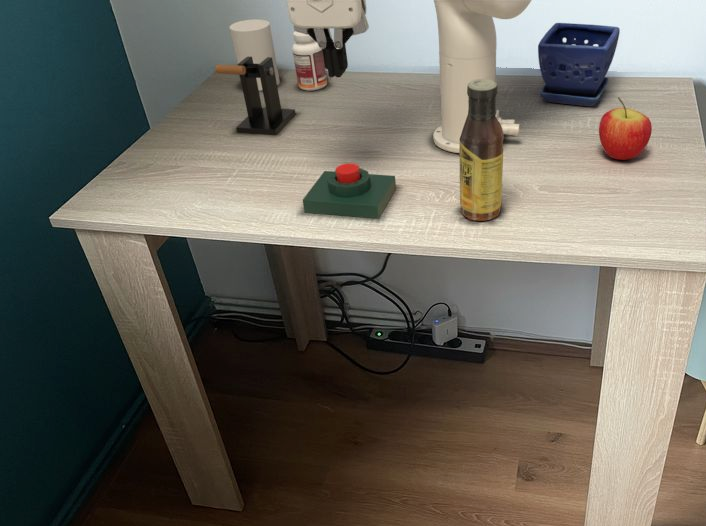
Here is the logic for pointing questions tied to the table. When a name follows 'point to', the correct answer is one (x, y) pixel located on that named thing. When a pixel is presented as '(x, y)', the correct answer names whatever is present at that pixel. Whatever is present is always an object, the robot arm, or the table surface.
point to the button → (348, 173)
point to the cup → (253, 43)
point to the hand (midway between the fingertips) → (337, 73)
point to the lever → (239, 70)
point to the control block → (350, 195)
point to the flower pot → (576, 62)
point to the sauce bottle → (481, 154)
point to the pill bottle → (308, 63)
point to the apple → (624, 132)
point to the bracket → (258, 117)
